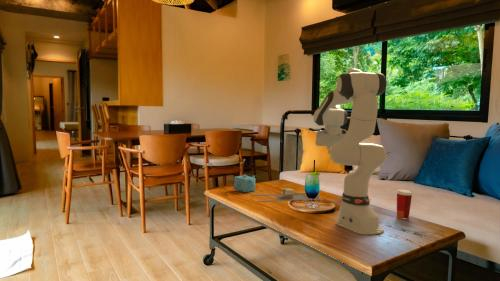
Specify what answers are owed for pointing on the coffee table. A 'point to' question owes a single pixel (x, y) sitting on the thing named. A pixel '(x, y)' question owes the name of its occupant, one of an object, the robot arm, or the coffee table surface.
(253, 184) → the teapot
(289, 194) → the cube
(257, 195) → the lane rails
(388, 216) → the coffee table surface
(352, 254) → the coffee table surface
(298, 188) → the coffee table surface
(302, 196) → the strip
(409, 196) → the glass of red beer
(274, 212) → the coffee table surface
